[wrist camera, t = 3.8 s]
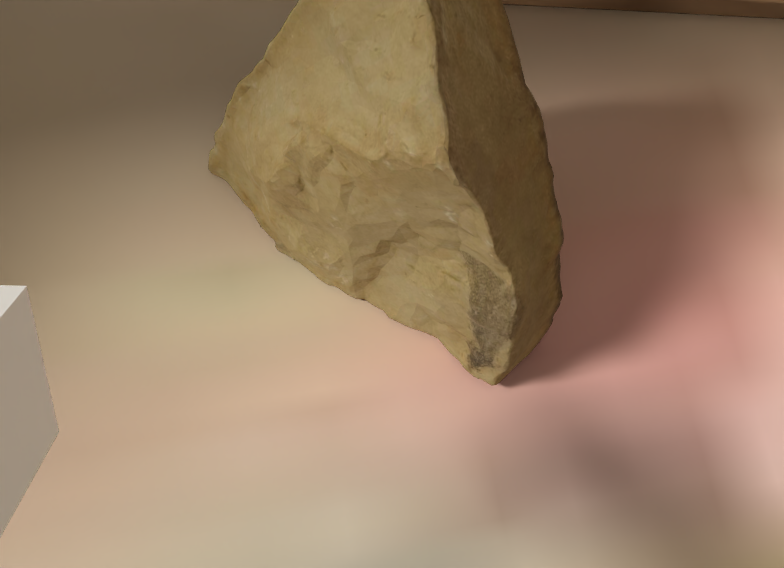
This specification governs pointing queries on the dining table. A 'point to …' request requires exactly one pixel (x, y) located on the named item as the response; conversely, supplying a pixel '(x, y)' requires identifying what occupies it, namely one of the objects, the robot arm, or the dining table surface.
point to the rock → (405, 168)
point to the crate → (674, 6)
